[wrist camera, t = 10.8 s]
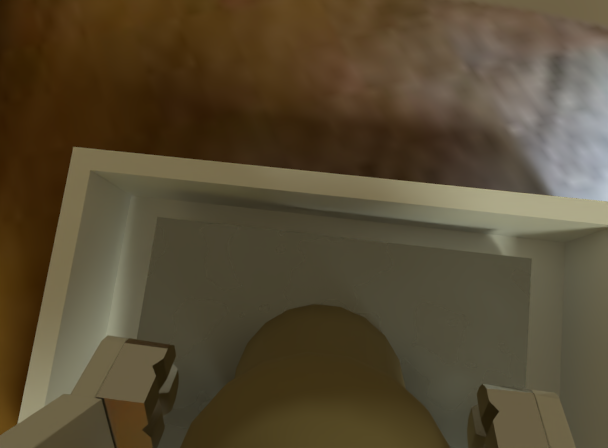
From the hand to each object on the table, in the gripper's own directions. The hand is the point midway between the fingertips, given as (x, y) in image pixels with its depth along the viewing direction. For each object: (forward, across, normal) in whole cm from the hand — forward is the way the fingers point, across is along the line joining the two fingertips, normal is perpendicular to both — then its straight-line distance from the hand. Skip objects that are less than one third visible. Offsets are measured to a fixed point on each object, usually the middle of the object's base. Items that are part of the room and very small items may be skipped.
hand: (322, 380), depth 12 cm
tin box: (+7, 0, +8) cm, 10 cm away
